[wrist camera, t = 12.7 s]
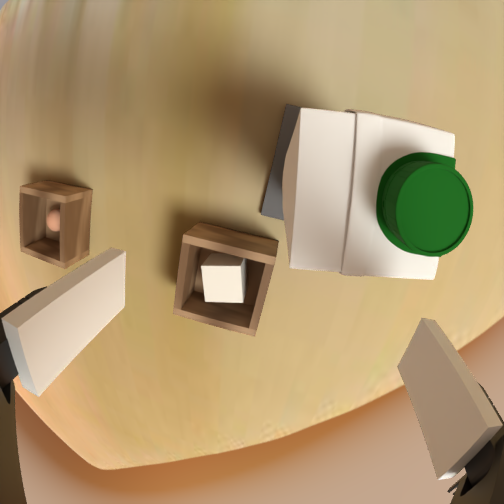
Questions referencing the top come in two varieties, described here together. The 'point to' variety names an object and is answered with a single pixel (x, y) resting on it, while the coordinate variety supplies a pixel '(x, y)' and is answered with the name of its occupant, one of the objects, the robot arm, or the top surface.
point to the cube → (225, 278)
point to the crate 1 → (71, 222)
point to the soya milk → (372, 195)
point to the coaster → (280, 165)
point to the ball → (54, 220)
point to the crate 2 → (191, 283)
